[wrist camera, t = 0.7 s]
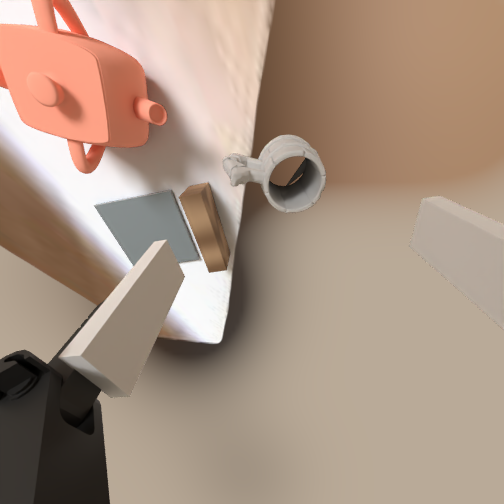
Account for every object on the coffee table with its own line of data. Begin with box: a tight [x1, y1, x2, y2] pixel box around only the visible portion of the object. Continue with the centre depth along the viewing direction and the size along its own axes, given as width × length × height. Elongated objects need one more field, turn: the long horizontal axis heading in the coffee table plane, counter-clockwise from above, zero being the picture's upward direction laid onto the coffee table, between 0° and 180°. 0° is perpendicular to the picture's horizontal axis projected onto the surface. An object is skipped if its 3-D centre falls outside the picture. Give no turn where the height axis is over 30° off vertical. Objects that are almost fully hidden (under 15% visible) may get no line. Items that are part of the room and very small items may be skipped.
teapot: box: [0, 0, 167, 174], centre depth 21 cm, size 14×12×10 cm
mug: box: [223, 135, 326, 213], centre depth 24 cm, size 8×12×12 cm, turn 81°
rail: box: [179, 183, 230, 273], centre depth 32 cm, size 13×3×5 cm, turn 11°
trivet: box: [95, 190, 199, 266], centre depth 35 cm, size 13×13×1 cm
